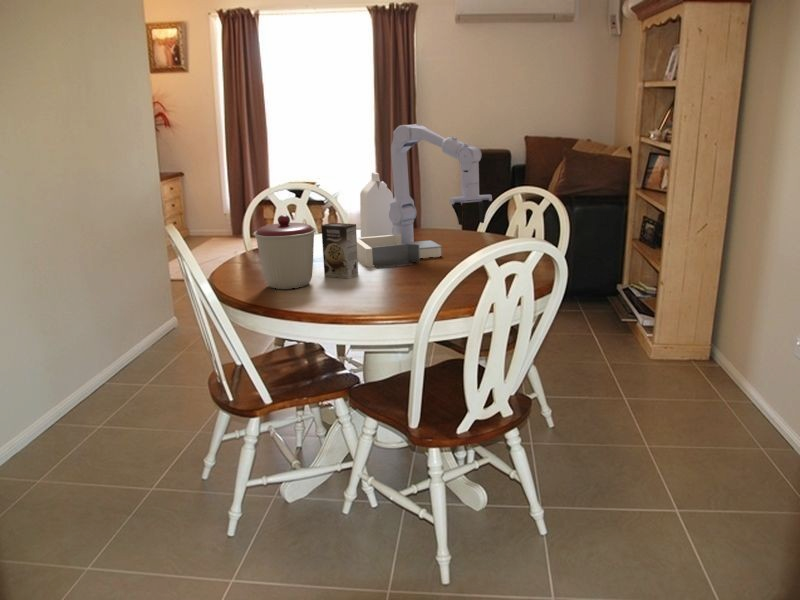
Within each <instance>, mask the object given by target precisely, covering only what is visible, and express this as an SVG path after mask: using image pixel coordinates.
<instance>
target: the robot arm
mask: <svg viewBox="0 0 800 600" xmlns="http://www.w3.org/2000/svg"><path fill="white" fill-rule="evenodd" d="M392 135H393V136H392V137H393V139H392V141H391V146H390V155H391V157H390V158H391V169H392V183H393V184H392V185H393V200H392V202H391V203H390V211H389V218H390V220H391V222H392V224H393V227H392V235H397V234H401V243H402V244H407V242H415V241H414V240H415V239H414V222H415V219H416V217H417V215H418V213H417V209H416V206H415V201H414V199H413V198H412V197H411V196H410V183H409V170H408V167H409V165H408V153H407V152H408V151H409V150H410V149H411V148H412V147H413V146H414V145H416V144H418V143H420V142H421V141H424V142H427V143H429V144H432V145H434V146H437V147H438V148H440V149H441V151H442V153H443V154H445V155H448V156H450V157H451V158H453V159H456V160H458V162H459V164H460V169H461V194H462V195H460V196H455V197H449V205H451V206H452V208H453V210H454V213H455V215H456V218H457V221H458V225H459V226H463V225H464V220H463V219H464V217H463V215H464V214H463V212H464V205H463V204H466V203H477V202H478V209H479V223H481V224H484V223H485V219H486V215H487V212H488V209H489V208H490V206H491V202H492V201H493V197H492V196H493V195H492V194H480V173H479V172H480V168H479V166H480V164H479V162H480V161H481V159H482V157H483V156H482V155H483V154H482V151H481V149H480V148H479V147H478V146H477V145H470V146H469V143H468V142H462V141H460V140H458V137H456V136H452V137H451V136H450V137H449V136H448V137H447V138H445V137H443V136H442V135H440V134H438V133H436V132H435V131H433V130H431V129H429V128H428V127H426V126H424V125H421V124H418V123H414V124H401V125H400V124H399V125H398V126H397V127H396V128H395V130H393V131H392Z"/></svg>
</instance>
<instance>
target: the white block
mask: <svg viewBox="0 0 800 600" xmlns="http://www.w3.org/2000/svg"><path fill="white" fill-rule="evenodd" d="M407 244H419V253H420V258H423V259H430V258H429V257H433V258H441V257H440V256H442V257H443V252H442V248H443V247H442V245H440V244H438V243H437V242H435V241H433V240H421V241H419V240H418V241H414V242H407Z"/></svg>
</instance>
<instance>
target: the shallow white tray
mask: <svg viewBox="0 0 800 600" xmlns="http://www.w3.org/2000/svg"><path fill="white" fill-rule="evenodd" d="M400 244H402V243H401V234H397V235H384V236H373V237H362V238H361V237H357V258H358V261H359V262H360V263H361V264H363V265H364V266H365V267H366V266H367V267H366V268H373V267H374V266H373V256H372V248H371V247H378V246H389V245H400Z"/></svg>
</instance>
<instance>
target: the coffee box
mask: <svg viewBox="0 0 800 600" xmlns="http://www.w3.org/2000/svg"><path fill="white" fill-rule="evenodd" d="M320 226H321V227H320V228H321V243H322V257H323V258H322V259H323V271H324V272H323V274H324V277H326V276H330V277H329V278H336V277H338V278H339V279H340V278H341V279H347V278H348V279H347V280H349V279H352V278H353V276H354V277H356V276H359V262H358V261H359V260H358V258H357V238H358V237H357V223H346V222H344V223H343V222H341V223H340V222H331V223H326V224H321V225H320Z"/></svg>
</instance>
